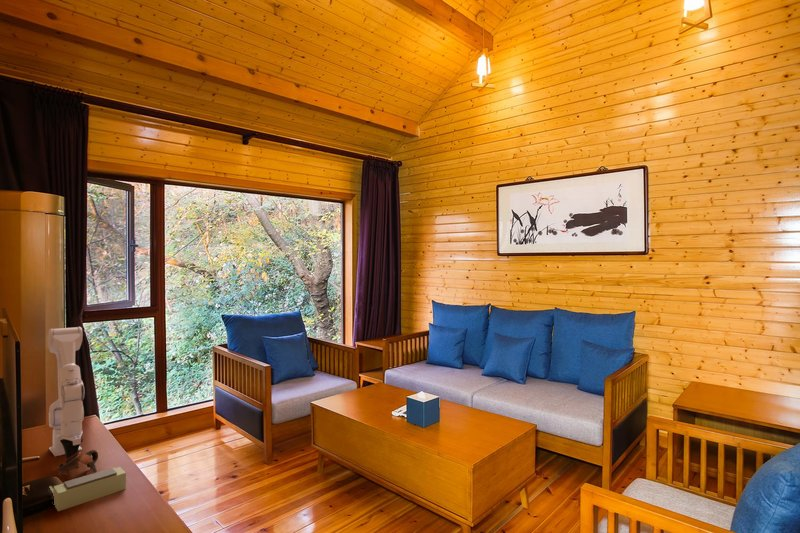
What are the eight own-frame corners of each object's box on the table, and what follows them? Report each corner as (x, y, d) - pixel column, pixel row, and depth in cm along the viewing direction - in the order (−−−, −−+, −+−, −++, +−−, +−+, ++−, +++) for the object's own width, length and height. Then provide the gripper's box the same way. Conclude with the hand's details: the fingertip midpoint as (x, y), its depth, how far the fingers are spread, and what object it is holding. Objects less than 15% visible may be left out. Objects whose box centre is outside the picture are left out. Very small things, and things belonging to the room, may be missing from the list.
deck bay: (48, 496, 130) (49, 477, 130) (114, 476, 143) (114, 459, 142) (58, 511, 123) (58, 491, 123) (125, 489, 135) (125, 470, 135)
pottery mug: (85, 484, 138) (69, 464, 136) (62, 495, 140) (46, 474, 138) (112, 458, 150) (97, 439, 148) (90, 468, 151) (75, 449, 150)
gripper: (51, 417, 152) (51, 457, 152) (62, 428, 142) (61, 471, 143) (76, 412, 157) (76, 450, 158) (88, 423, 148) (88, 463, 148)
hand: (71, 460), depth 150 cm, fingers closed
